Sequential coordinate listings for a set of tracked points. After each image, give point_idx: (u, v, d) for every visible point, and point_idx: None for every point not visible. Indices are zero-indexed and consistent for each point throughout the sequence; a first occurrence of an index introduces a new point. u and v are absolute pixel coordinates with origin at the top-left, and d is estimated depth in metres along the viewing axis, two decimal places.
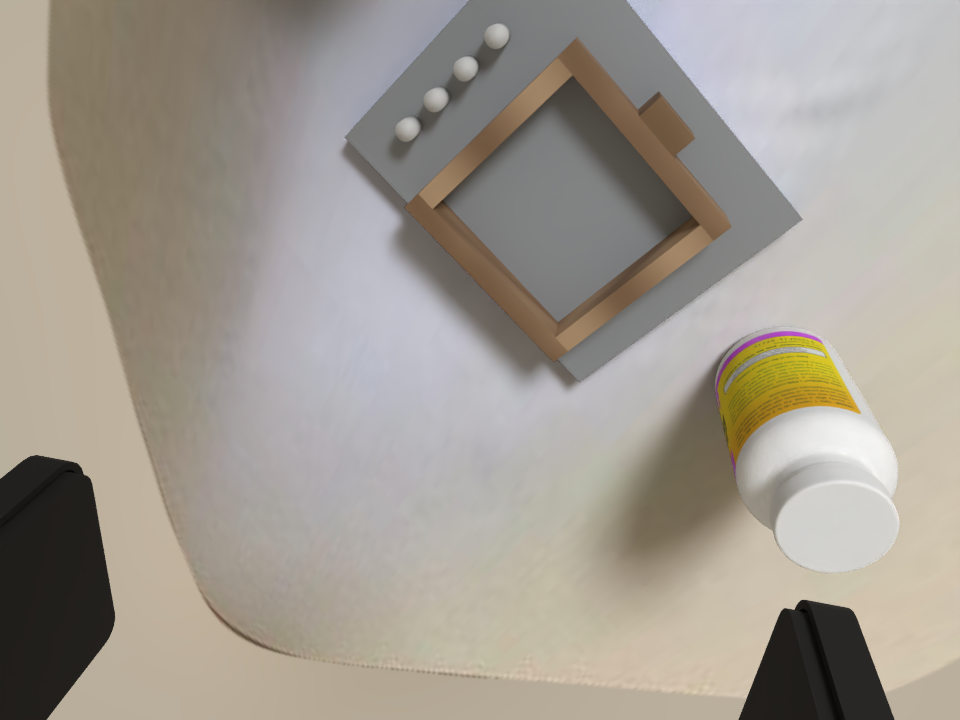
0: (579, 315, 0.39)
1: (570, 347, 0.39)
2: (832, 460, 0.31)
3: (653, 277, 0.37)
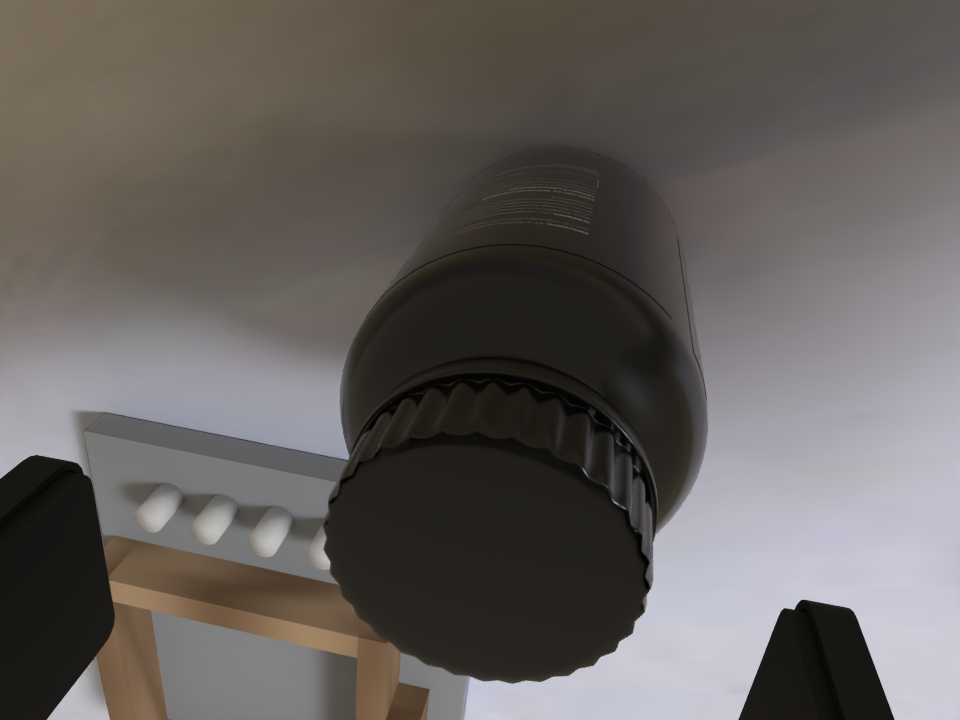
0: None
1: None
2: None
3: None
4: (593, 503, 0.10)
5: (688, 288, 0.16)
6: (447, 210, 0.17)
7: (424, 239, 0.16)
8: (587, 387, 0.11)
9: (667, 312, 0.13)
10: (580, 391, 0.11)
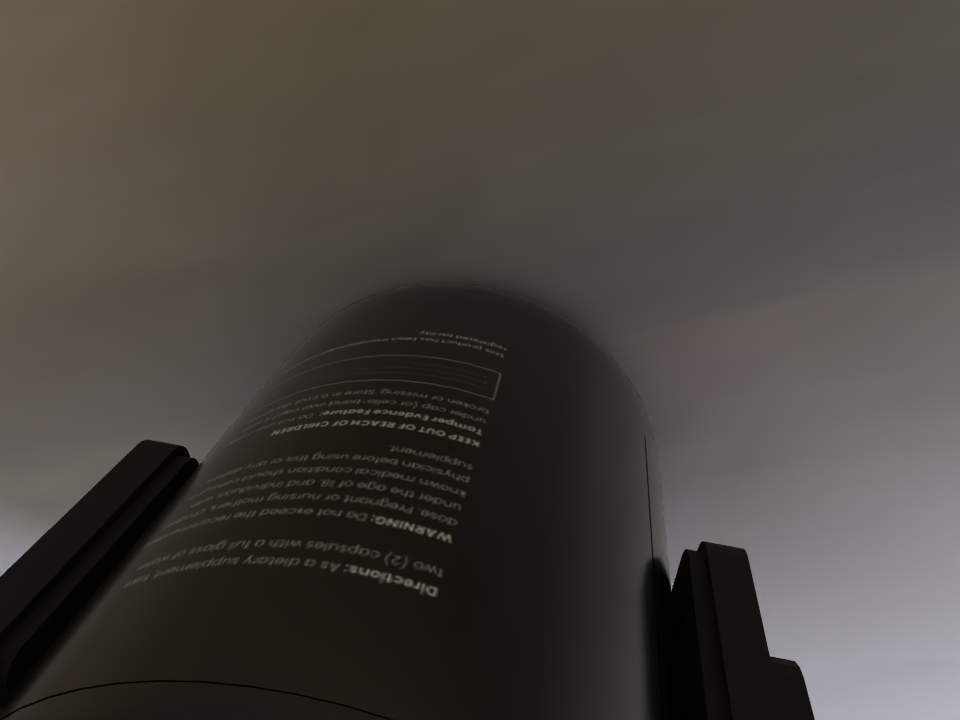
0: None
1: None
2: None
3: None
4: None
5: (664, 574, 0.09)
6: (243, 413, 0.10)
7: None
8: None
9: None
10: None
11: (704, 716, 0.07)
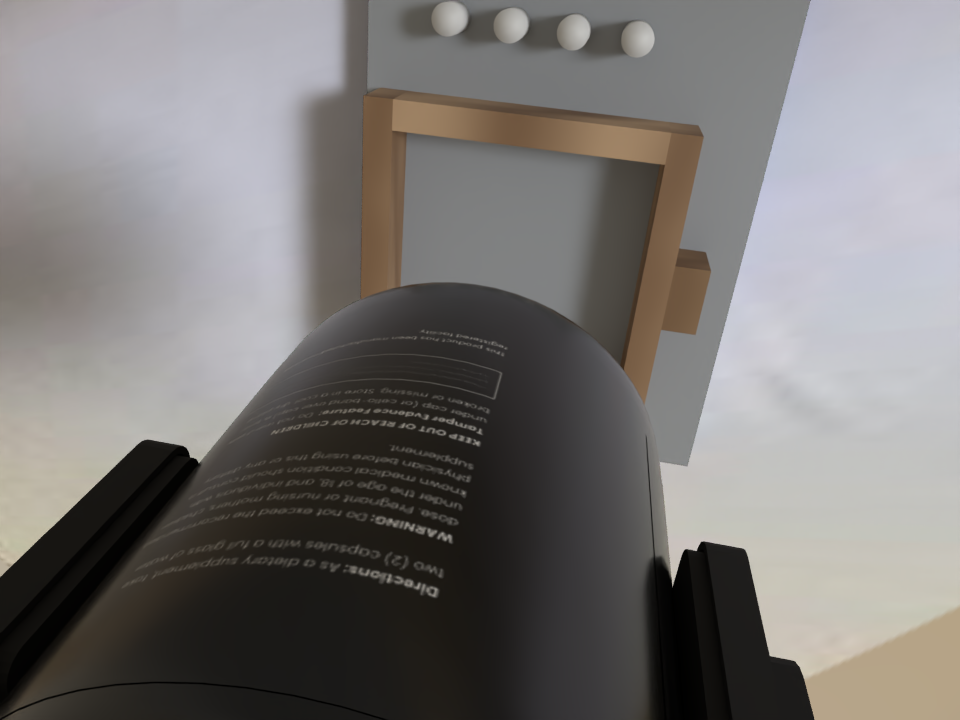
0: None
1: None
2: None
3: None
4: None
5: (665, 574, 0.09)
6: (242, 413, 0.10)
7: (168, 500, 0.09)
8: None
9: None
10: None
11: (704, 716, 0.07)
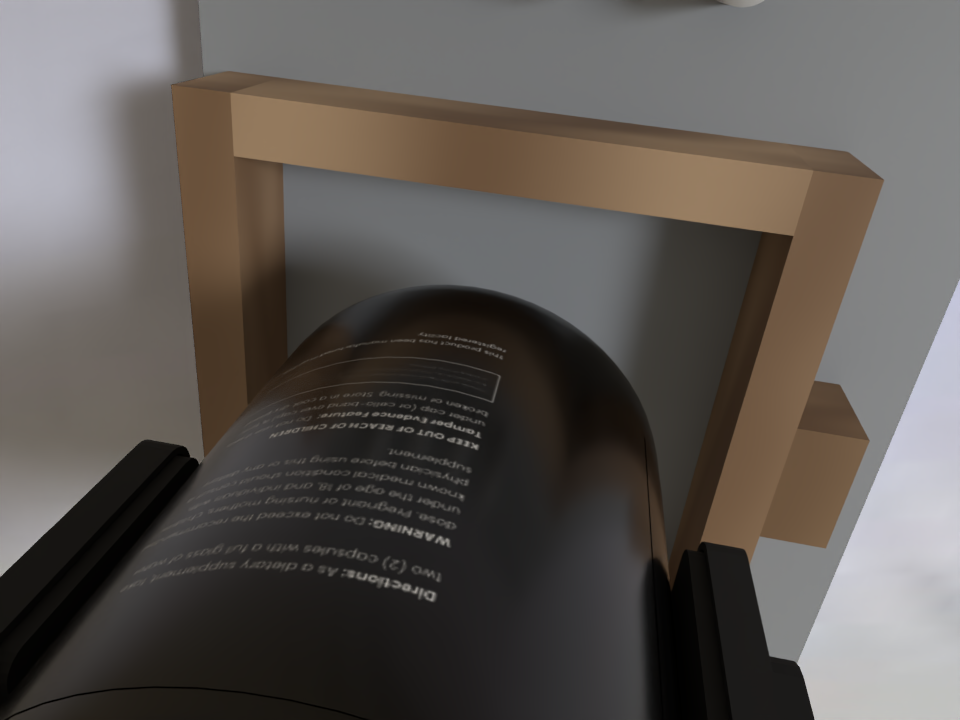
0: None
1: None
2: None
3: None
4: None
5: (663, 577, 0.09)
6: (241, 416, 0.10)
7: (167, 503, 0.09)
8: None
9: None
10: None
11: (704, 716, 0.07)
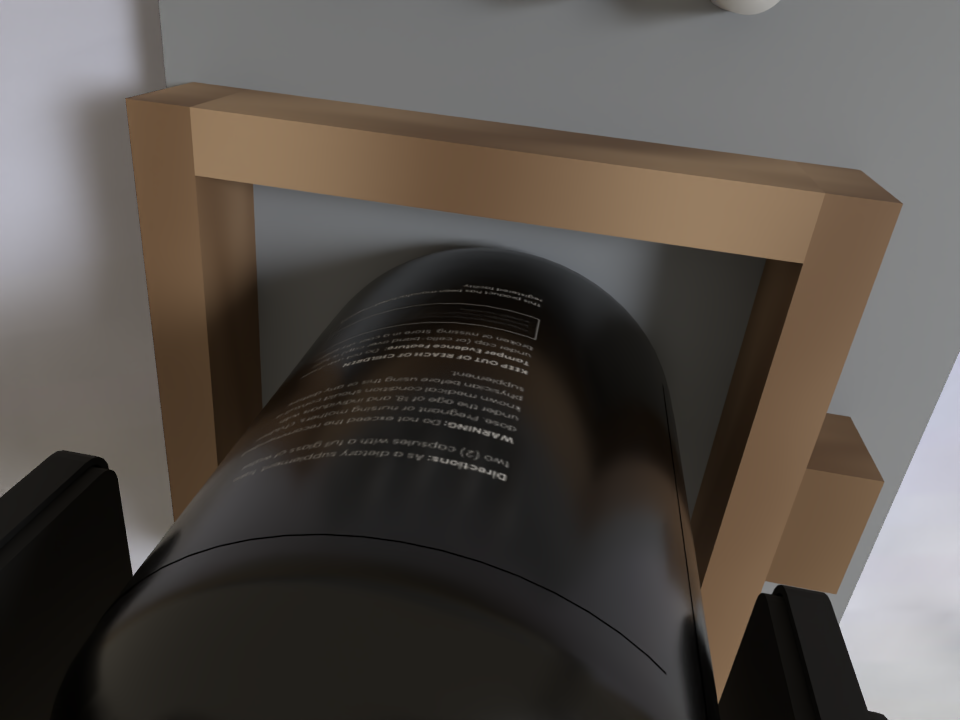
0: None
1: None
2: None
3: None
4: None
5: (684, 496, 0.10)
6: (304, 358, 0.11)
7: (249, 427, 0.10)
8: None
9: (658, 656, 0.06)
10: None
11: None
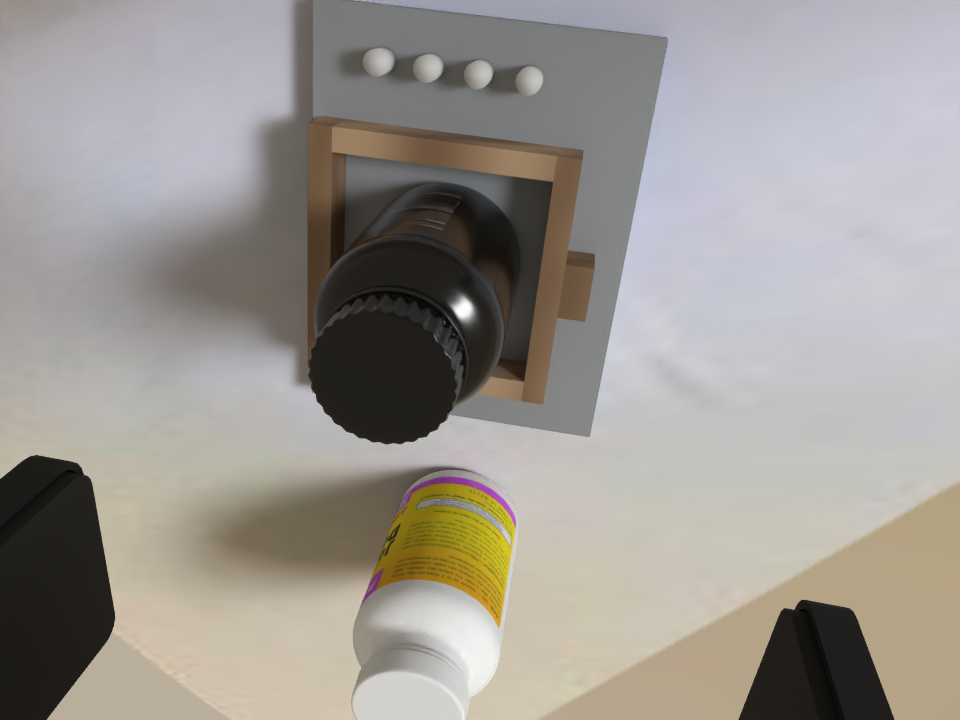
0: None
1: None
2: (451, 657, 0.31)
3: None
4: (428, 342, 0.22)
5: (509, 262, 0.29)
6: None
7: None
8: (431, 298, 0.24)
9: (479, 267, 0.26)
10: (427, 298, 0.23)
11: None
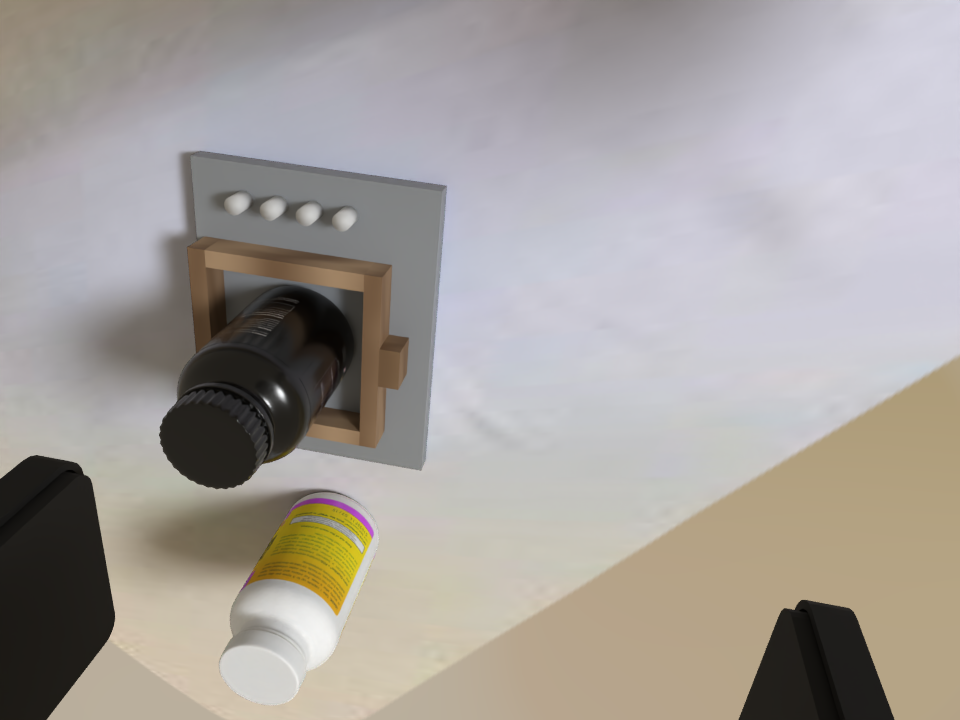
0: None
1: None
2: (293, 636, 0.42)
3: None
4: (234, 424, 0.34)
5: (329, 351, 0.40)
6: None
7: None
8: (244, 391, 0.35)
9: (287, 365, 0.37)
10: (239, 392, 0.35)
11: None
